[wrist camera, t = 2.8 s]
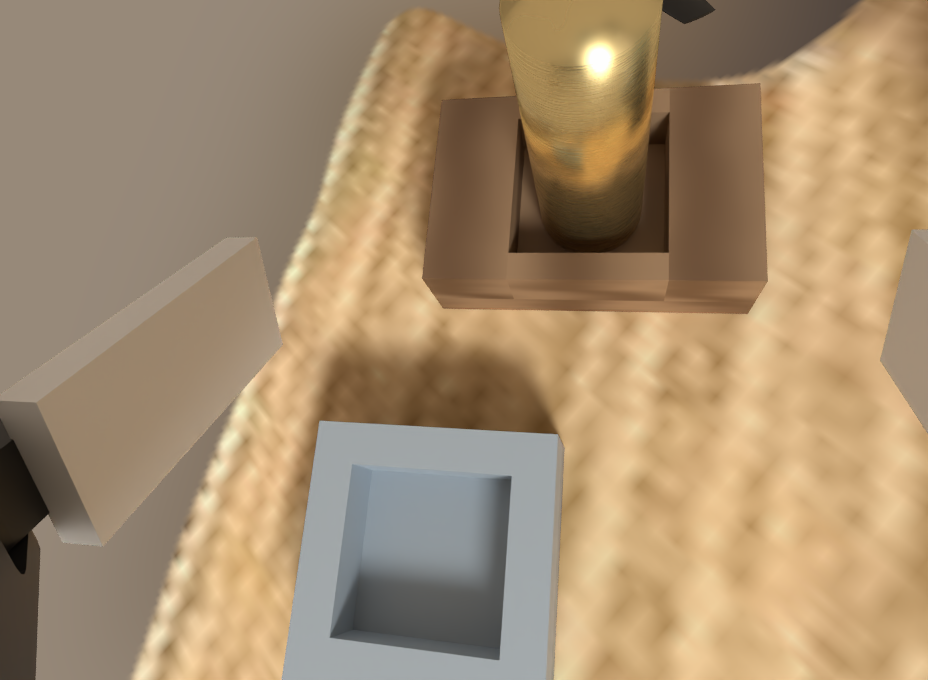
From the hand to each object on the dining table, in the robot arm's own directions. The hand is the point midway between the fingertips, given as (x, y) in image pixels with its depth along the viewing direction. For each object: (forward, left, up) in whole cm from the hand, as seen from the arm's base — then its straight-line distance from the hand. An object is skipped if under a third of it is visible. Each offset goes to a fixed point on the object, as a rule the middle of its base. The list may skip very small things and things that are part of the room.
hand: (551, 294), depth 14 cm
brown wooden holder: (-4, -9, -17) cm, 20 cm away
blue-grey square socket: (+8, +3, -17) cm, 19 cm away
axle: (-4, -9, -15) cm, 18 cm away
